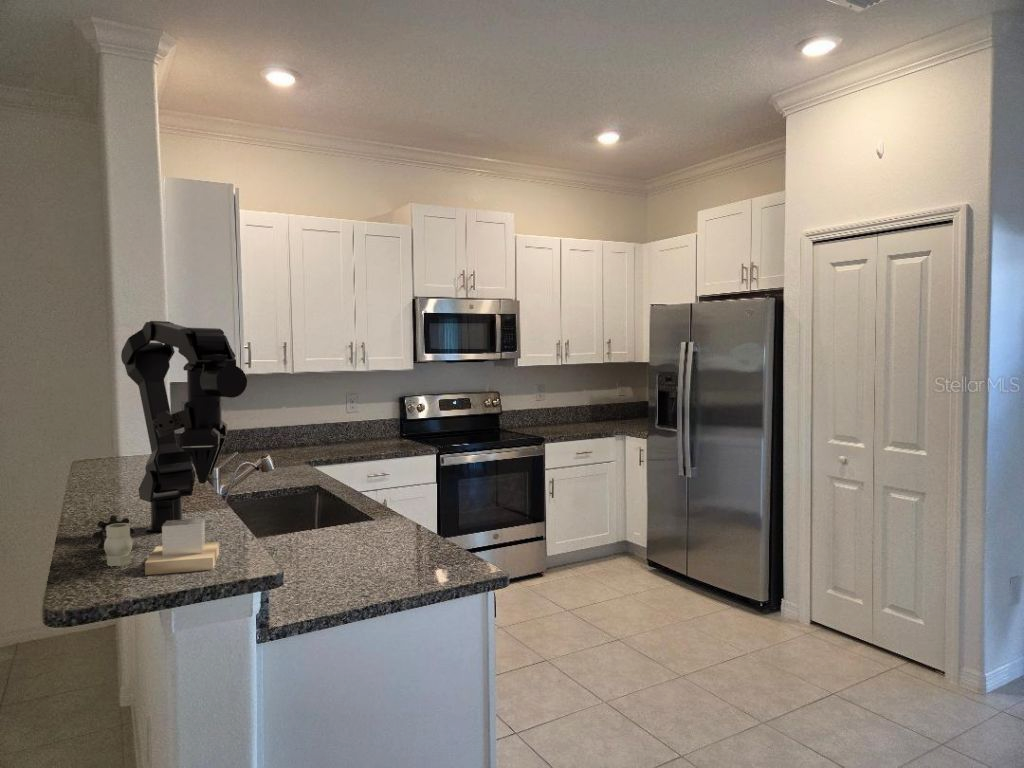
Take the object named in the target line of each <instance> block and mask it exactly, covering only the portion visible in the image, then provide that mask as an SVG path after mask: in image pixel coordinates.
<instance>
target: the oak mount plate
mask: <svg viewBox="0 0 1024 768" xmlns="http://www.w3.org/2000/svg"><path fill="white" fill-rule="evenodd" d="M219 555H220V541H211V542H209V541H208V542H205V548H204V550H203V553H201V554H188V555H174V556H162V545H156V547H155V548H154V550H152V552H151V553H150V555H149V556H148V558H147V559H146V560H145V562H144V573H145V576H151V575H152V576H153V575H163V574H174V573H175V574H176V573H188V572H189V573H190V572H200V571H211V570H212V571H213V570H214V568H215V566H216V563H217V560H218V558H219Z"/></svg>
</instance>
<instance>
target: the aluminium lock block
mask: <svg viewBox="0 0 1024 768" xmlns="http://www.w3.org/2000/svg"><path fill="white" fill-rule="evenodd" d="M205 520H206V518H205V517H204V518H190V519H186V518H185V519H182V520H170V521H166V522H165V523H164V524H163V526H162V531H161V539H162V540H161V543H162V544H161V546H162V556H174V555H188V554H201V553H203V550H204V548H205V543H206V521H205Z"/></svg>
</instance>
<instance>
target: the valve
mask: <svg viewBox="0 0 1024 768" xmlns="http://www.w3.org/2000/svg"><path fill="white" fill-rule="evenodd" d="M108 519H109V520H108V521H104V520H103V519H100V520H97V522H96V525H97V527H99V530H98V531H95V530H94V531H93V532H92V533H91V537H92V539H94V540H95V539H100V541H99V542H98V543H97V544H96V545H97V546H96V547H97V548H98V549H99V550H100V549H101V550H102V549H103V550H104V552H105V554H106V565H108V566H111V567H110V568H112V566H117V567H118V566H119V567H123V566H128V565H129V564H131V550H132V548H133V538H132V537H131V535H133V534H134V533H135V528H134V527H131V526H130V519H129V517H127V516H126V517H122V519H121V520H118V517H117V515H116V513H115V514H114V513H113V514H110V515H109V518H108ZM103 534H106V538H104V535H103ZM108 566H107V567H108ZM117 567H116V568H117Z"/></svg>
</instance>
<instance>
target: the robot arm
mask: <svg viewBox="0 0 1024 768" xmlns="http://www.w3.org/2000/svg"><path fill="white" fill-rule="evenodd" d="M227 337H228V336H226V335H225V332H224V331H223V330H222V329H221V328H215V327H214V328H213V327H212V328H211V327H208V328H207V327H186V326H183V325H180V324H175V323H174V322H170V321H166V320H165V321H164V320H150V321H146V322H145V323H144V325H143V327H142V329H140V330H138V331H137V332H135V333H134V334H132V335H131V336H129V337H128V338H127V339H126V342H125V343H124V345H123V348H121V349H122V350H121V353H120V354H121V356H120V357H121V358H120V359H121V361H122V364H123V365H124V367H125V372H126V375H127V376H128V377H129V378H130V379H131V380H132V381H133V382H134V383H135V384H136V385H137V386H138V391H139V396H140V401H141V405H142V409H143V416H144V421H145V426H146V431H147V435H148V440H149V441H148V442H149V445H150V451H151V453H150V455H149V458H148V459H147V462H146V464H145V474H144V476H143V479H142V481H141V483H140V485H139V487H138V496H139V500H142V501H145V502H148V503H150V505H149V506H150V524H149V525H148V527H146V529H145V532H147V533H148V532H149V533H151V532H152V533H153V532H162V526H163V524H164V523H165V522H166V521H170V520H183V498H184V497H191V496H193V492H194V484H195V480H196V476H197V480H198V483H199V484H206V483H207V481H208V478H209V476H211V475H213V472H214V469H215V466H216V465H217V462H218V459H219V457H220V454H221V452H222V449H223V447H224V444H225V441H226V439H227V435H228V424H227V423H225V421H224V420H222V406H223V399H222V398H231V399H233V398H238V397H239V396H241V395H242V394H243V393H244V392H245V390H246V388H247V386H248V378H247V375H246V374H245V371H244V370H243V369H241V368H240V367H239V366H238V365H237V359H236V354H235V352H234V351H233V349H232V347H231V344H230V343H229V340H228V338H227ZM153 341H154V342H153ZM174 348H178V353H179V354H180V355H181V356H183V358H185V359H186V361H187V363H186V364H184V366H183V371H186V379H187V383H186V384H187V401H185V403H184V405H183V409H182V410H178V411H176V412H173V413H172V412H171V407H170V404H169V399H168V393H167V388H166V384H165V378H166V376H167V374H168V372H169V369H170V367H171V365H170V361H171V359H172V358H173V357H174V354H175V349H174ZM179 429H183V430H184V431H183V432H181V434H179V438H178V439H179V441H178V442H179V445H178V442H177V437H176V433H175V431H177V430H179ZM221 435H222V436H221ZM180 447H181V448H180ZM192 462H193V463H192ZM192 464H193V465H192ZM193 466H194V467H193ZM194 469H195V470H194ZM182 497H183V498H182Z"/></svg>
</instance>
